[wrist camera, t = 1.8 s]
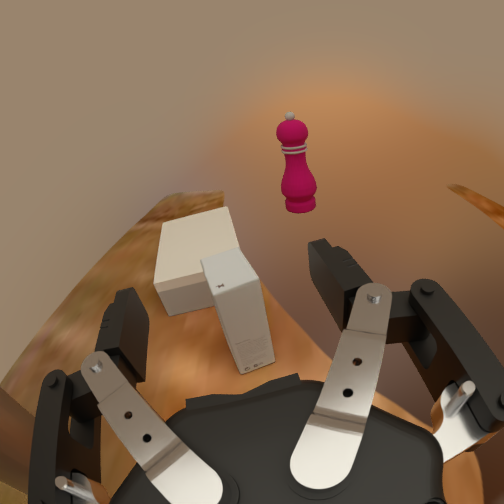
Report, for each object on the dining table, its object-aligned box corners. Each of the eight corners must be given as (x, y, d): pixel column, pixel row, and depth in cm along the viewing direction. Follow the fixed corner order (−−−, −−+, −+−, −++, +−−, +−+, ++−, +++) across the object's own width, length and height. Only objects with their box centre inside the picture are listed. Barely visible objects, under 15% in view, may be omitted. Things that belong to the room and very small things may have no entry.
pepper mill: (281, 202, 64) (267, 112, 53) (313, 197, 63) (303, 108, 52) (286, 217, 58) (272, 116, 47) (321, 211, 57) (312, 111, 46)
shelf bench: (168, 316, 39) (153, 283, 36) (172, 250, 54) (162, 222, 51) (252, 296, 40) (243, 261, 37) (233, 234, 55) (227, 206, 52)
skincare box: (277, 362, 30) (261, 278, 24) (240, 376, 30) (211, 296, 23) (258, 326, 35) (239, 244, 29) (225, 338, 35) (197, 258, 28)
